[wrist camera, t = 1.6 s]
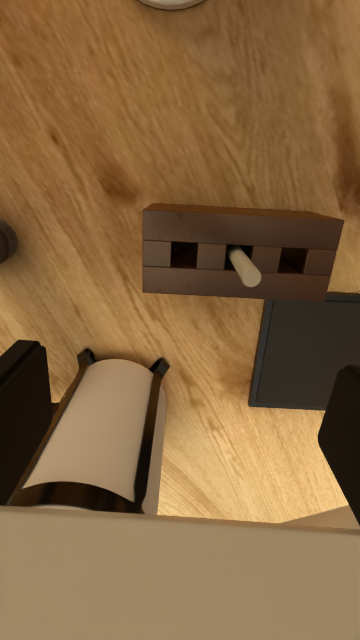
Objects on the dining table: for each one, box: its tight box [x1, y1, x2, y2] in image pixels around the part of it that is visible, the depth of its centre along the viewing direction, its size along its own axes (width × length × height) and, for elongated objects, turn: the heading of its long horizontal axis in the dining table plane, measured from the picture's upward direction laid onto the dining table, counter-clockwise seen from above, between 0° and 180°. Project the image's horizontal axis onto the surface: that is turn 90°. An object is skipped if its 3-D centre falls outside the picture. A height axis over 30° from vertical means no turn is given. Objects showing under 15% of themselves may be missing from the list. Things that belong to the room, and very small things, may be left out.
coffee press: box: [6, 348, 170, 515], centre depth 28 cm, size 17×16×30 cm
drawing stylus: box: [226, 244, 261, 287], centre depth 28 cm, size 1×1×14 cm
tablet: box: [248, 292, 360, 411], centre depth 39 cm, size 22×16×1 cm
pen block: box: [143, 203, 344, 302], centre depth 31 cm, size 7×16×8 cm, turn 87°
